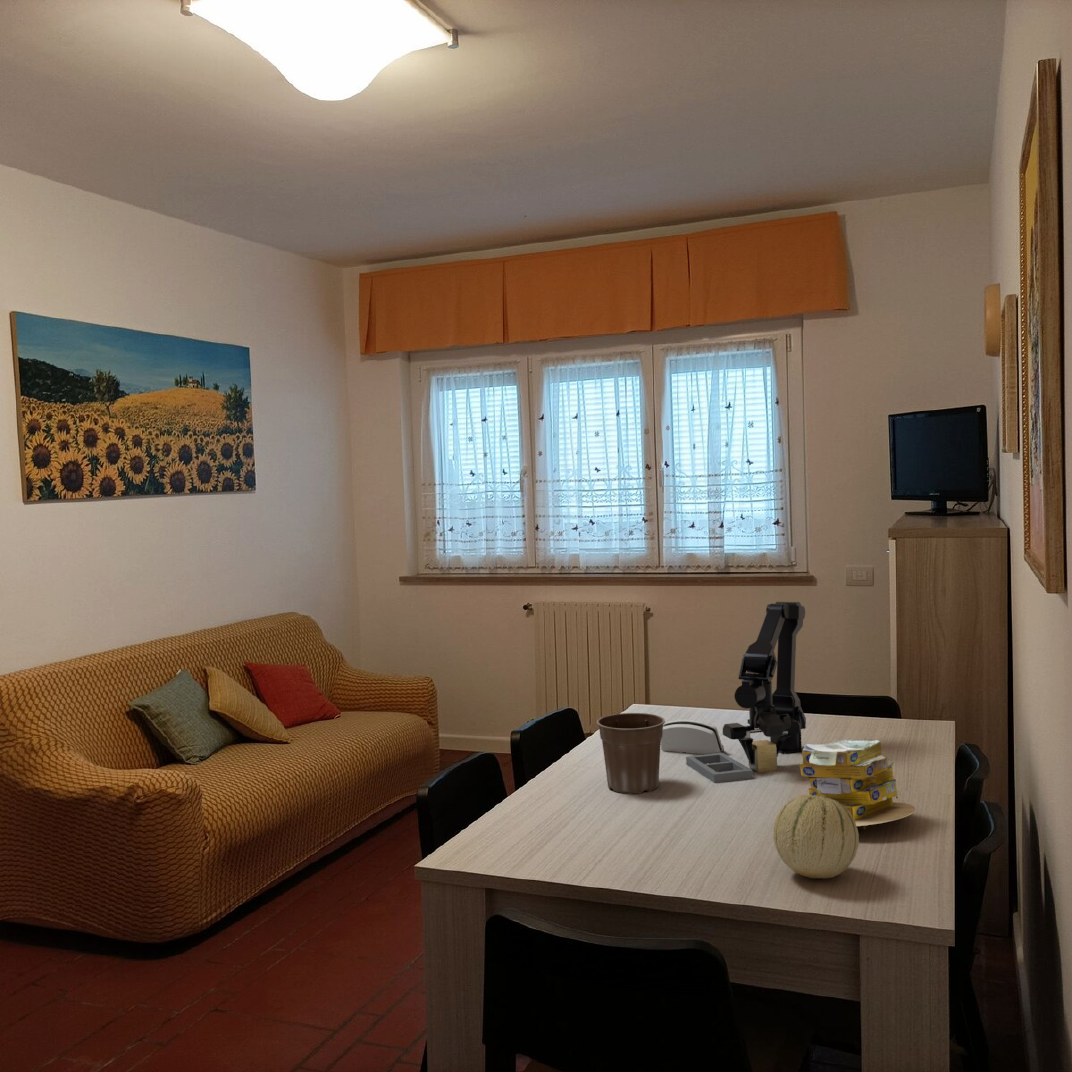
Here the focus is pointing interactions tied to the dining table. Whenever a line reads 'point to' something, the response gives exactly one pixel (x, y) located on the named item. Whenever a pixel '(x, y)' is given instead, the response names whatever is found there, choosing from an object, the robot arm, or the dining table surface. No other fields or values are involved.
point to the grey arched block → (691, 737)
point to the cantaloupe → (816, 836)
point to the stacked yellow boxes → (855, 779)
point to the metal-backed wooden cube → (764, 756)
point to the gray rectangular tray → (719, 767)
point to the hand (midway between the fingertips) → (762, 762)
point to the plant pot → (631, 750)
